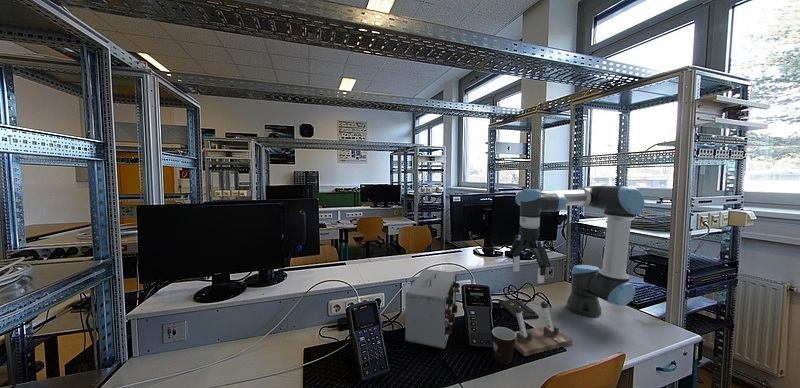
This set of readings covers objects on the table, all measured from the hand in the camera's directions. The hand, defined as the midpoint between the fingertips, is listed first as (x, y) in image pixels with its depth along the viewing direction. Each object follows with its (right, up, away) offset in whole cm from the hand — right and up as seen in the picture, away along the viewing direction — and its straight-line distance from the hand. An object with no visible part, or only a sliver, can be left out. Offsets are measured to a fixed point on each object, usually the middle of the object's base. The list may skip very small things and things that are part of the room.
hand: (527, 276), depth 119 cm
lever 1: (-2, -24, -2) cm, 24 cm away
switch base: (+4, -28, 0) cm, 28 cm away
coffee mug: (-14, -28, -9) cm, 33 cm away
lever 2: (+11, -23, +2) cm, 26 cm away
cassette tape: (+7, -26, +27) cm, 38 cm away
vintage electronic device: (-38, -27, +10) cm, 47 cm away
